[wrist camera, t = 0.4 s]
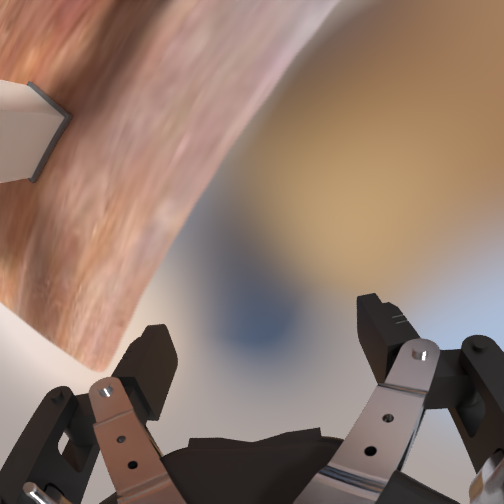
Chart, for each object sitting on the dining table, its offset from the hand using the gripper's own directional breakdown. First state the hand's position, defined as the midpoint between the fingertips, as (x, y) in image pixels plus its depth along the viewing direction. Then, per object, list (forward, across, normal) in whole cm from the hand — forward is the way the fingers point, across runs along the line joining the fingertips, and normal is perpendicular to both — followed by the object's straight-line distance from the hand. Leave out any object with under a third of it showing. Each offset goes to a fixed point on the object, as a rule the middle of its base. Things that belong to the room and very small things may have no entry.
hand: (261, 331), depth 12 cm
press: (+29, +33, -20) cm, 48 cm away
